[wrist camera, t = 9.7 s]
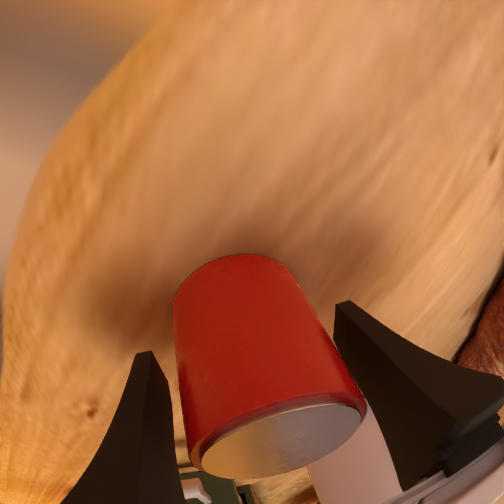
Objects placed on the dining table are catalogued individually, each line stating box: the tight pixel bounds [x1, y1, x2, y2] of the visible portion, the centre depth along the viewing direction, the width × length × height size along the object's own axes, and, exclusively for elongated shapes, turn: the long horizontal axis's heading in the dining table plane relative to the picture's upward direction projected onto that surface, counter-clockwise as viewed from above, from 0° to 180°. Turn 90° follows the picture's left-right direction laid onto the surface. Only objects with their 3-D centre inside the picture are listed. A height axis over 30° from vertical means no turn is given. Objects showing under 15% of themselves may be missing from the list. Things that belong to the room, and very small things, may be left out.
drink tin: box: [172, 254, 367, 479], centre depth 11 cm, size 6×6×7 cm
